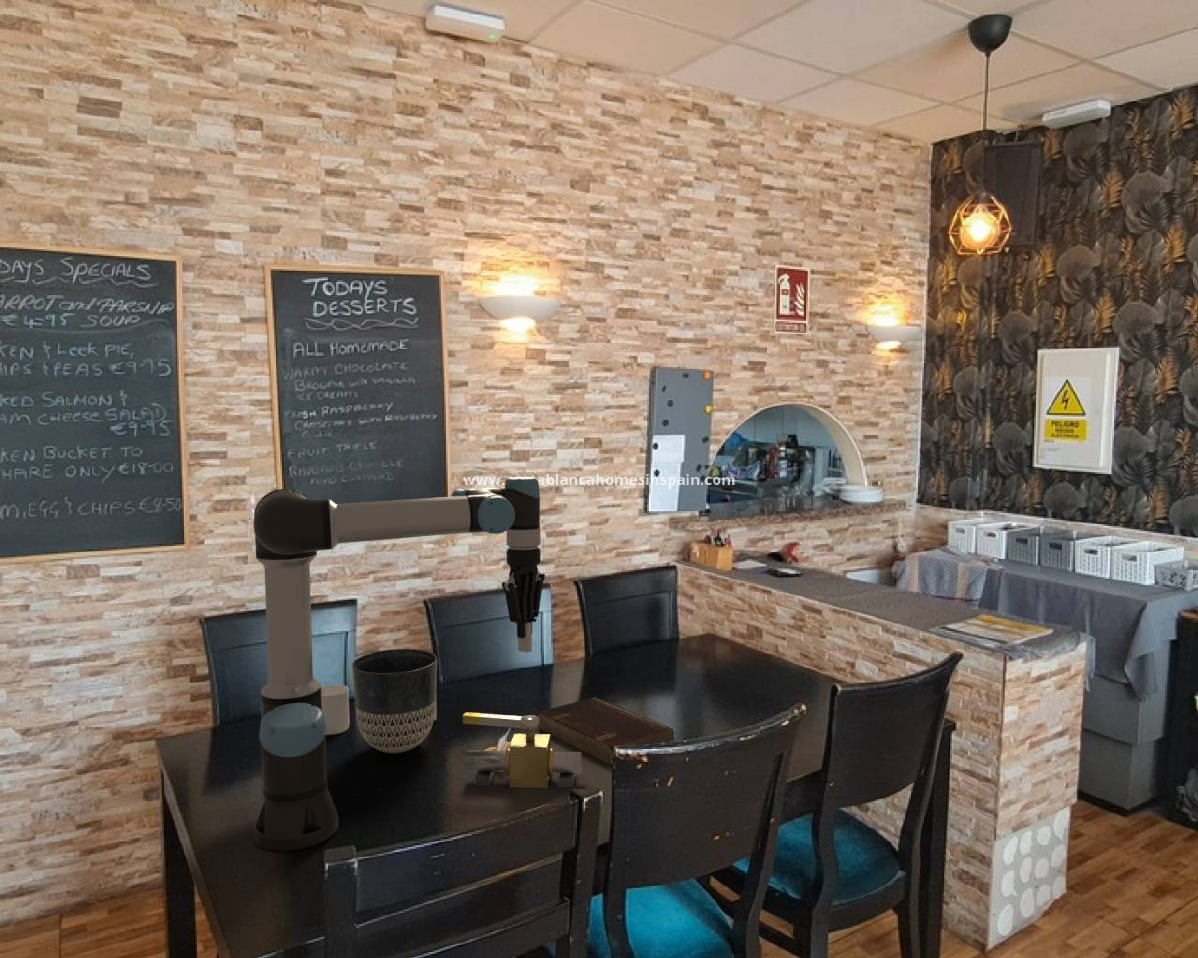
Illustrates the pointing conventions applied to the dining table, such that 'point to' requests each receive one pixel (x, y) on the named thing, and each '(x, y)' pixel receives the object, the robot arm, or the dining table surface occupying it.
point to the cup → (335, 708)
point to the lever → (503, 720)
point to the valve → (525, 762)
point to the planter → (395, 697)
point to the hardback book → (601, 727)
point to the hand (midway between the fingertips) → (524, 650)
